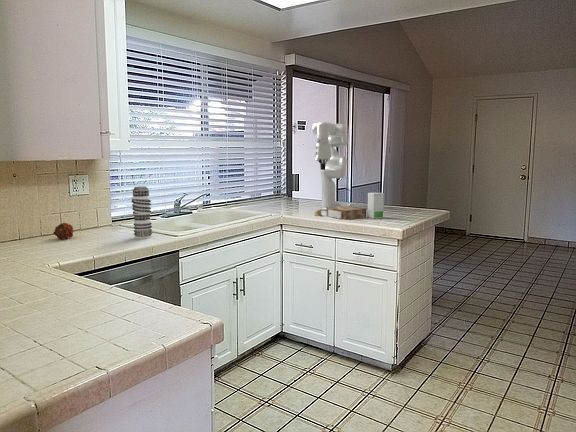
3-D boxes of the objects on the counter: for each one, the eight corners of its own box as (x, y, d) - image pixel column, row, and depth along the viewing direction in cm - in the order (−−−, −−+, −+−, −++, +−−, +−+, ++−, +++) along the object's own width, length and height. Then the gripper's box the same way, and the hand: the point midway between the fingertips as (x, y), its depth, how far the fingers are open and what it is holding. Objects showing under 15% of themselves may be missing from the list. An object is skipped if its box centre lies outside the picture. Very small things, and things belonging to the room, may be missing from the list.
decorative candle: (129, 238, 223) (126, 187, 219) (139, 235, 232) (136, 186, 228) (147, 239, 221) (144, 187, 218) (156, 235, 230) (153, 186, 227)
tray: (346, 214, 298) (346, 208, 297) (359, 216, 287) (359, 210, 286) (328, 216, 290) (328, 209, 290) (340, 218, 279) (340, 212, 279)
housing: (346, 213, 302) (346, 205, 301) (366, 217, 285) (366, 208, 284) (326, 215, 294) (326, 207, 293) (345, 219, 277) (345, 210, 276)
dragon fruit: (65, 244, 219) (62, 243, 229) (79, 232, 223) (76, 232, 233) (51, 230, 216) (49, 231, 226) (66, 219, 220) (63, 219, 230)
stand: (318, 214, 298) (318, 209, 298) (322, 215, 295) (322, 210, 294) (313, 215, 296) (313, 210, 296) (317, 216, 292) (317, 210, 292)
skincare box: (373, 219, 279) (373, 193, 276) (366, 217, 284) (366, 192, 282) (384, 217, 282) (384, 192, 280) (377, 216, 288) (377, 192, 286)
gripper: (316, 141, 291) (316, 170, 293) (335, 141, 298) (335, 169, 301) (310, 141, 297) (310, 170, 300) (328, 141, 305) (328, 169, 307)
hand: (322, 169), depth 300 cm, fingers closed
